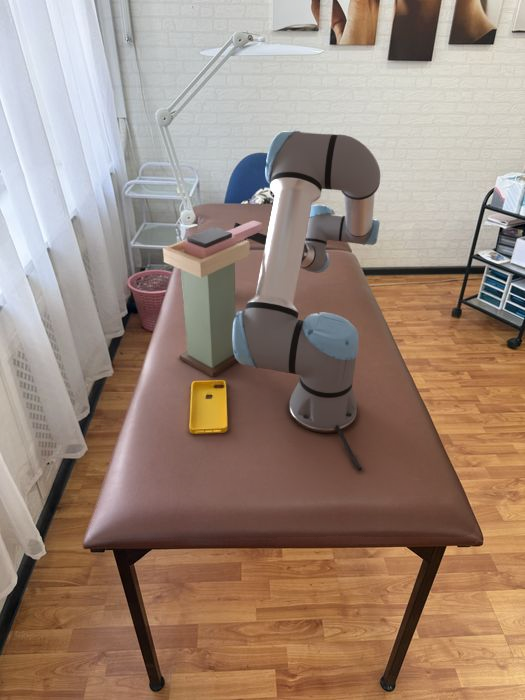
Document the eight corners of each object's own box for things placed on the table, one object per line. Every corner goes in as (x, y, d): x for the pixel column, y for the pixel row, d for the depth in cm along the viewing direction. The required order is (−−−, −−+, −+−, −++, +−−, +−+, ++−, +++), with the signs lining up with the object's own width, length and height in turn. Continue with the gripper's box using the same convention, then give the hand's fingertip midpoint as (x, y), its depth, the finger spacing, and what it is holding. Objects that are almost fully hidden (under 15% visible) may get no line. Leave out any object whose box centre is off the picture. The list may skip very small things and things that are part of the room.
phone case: (189, 434, 109) (189, 429, 109) (192, 385, 123) (191, 381, 123) (227, 432, 110) (227, 428, 109) (225, 384, 124) (225, 379, 123)
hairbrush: (247, 225, 130) (247, 212, 128) (268, 232, 126) (268, 219, 124) (183, 251, 115) (182, 237, 113) (205, 260, 112) (204, 245, 110)
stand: (216, 336, 141) (212, 228, 124) (249, 352, 135) (249, 241, 117) (173, 362, 131) (162, 248, 113) (206, 380, 125) (200, 263, 107)
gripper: (327, 277, 139) (289, 262, 122) (258, 252, 152) (214, 236, 135) (337, 251, 138) (299, 232, 120) (266, 228, 151) (223, 208, 133)
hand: (254, 234), depth 128 cm, fingers open, 13 cm apart
